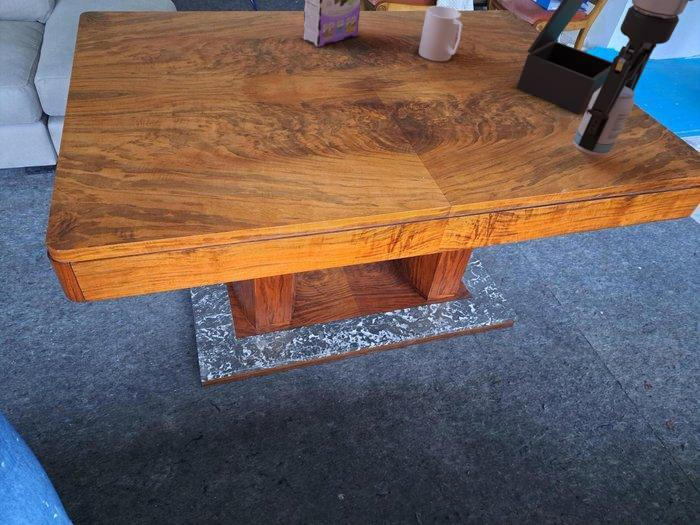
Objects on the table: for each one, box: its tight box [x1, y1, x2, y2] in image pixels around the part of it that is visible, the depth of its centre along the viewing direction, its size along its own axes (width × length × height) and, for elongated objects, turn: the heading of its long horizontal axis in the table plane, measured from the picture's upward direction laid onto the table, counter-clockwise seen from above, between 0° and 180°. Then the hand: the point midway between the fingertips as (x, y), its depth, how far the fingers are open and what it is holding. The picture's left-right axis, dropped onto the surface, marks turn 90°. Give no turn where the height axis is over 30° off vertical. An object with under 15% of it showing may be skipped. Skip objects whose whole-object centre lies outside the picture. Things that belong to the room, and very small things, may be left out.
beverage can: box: [572, 84, 635, 158], centre depth 92 cm, size 7×7×12 cm
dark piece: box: [516, 40, 613, 115], centre depth 116 cm, size 16×14×8 cm
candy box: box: [302, 0, 362, 48], centre depth 123 cm, size 14×6×16 cm, turn 134°
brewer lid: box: [527, 0, 586, 54], centre depth 110 cm, size 16×14×9 cm
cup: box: [418, 5, 464, 62], centre depth 123 cm, size 8×12×10 cm
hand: (594, 140), depth 95 cm, fingers closed on beverage can, 7 cm apart
